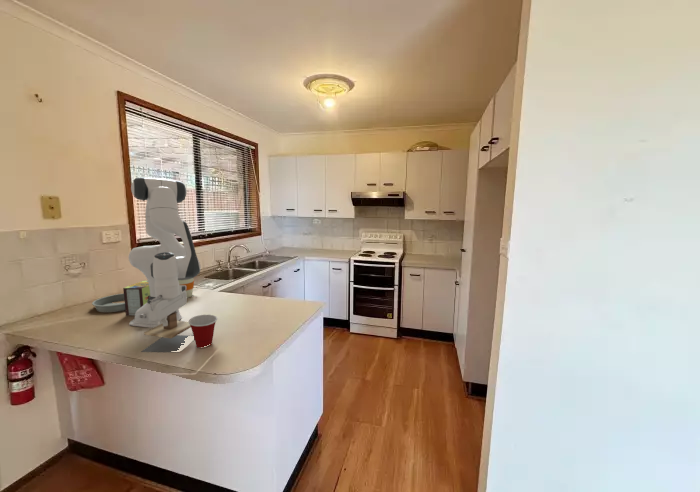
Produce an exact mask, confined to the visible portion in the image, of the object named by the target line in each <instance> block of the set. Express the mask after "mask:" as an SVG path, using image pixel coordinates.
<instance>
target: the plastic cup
mask: <svg viewBox="0 0 700 492" xmlns="http://www.w3.org/2000/svg"><path fill="white" fill-rule="evenodd" d="M217 321H218V317H217V316H215V315H213V314H199V315H195V316H192V317H191V318H190V319H189V320H188V322H189V324H190V326H191V328H190V329H191V331H192V336H194V343H195V346H196V347H197V348H198V347H204V346H207V345H209V344H211V343H212V344H213V338H214V333H215V326H216V322H217ZM212 344H211V345H212Z"/></svg>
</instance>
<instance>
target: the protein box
mask: <svg viewBox="0 0 700 492" xmlns="http://www.w3.org/2000/svg"><path fill="white" fill-rule="evenodd" d="M122 290H123V293H124V303H125V310H124V311H125V316H129V317H130V316H131V317H133V316H134V317H135V313H136V311H137V310H138V309H139V308H141V307H142V306H143V305H144V304H146V303H147V301H148V299H146V297H148V296H149V295H150V289H149V283H148V280H142V281H139V282H136V283H134V284H131V285H127V286H125V287H123V289H122ZM145 299H146V300H145Z"/></svg>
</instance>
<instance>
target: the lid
mask: <svg viewBox="0 0 700 492" xmlns="http://www.w3.org/2000/svg"><path fill="white" fill-rule="evenodd" d="M167 321H169V325H168V326H163V323H162V324H160V325H158V326H156V327H154V328H152V327H151V328H150V329H148V330H146V331H144V335H145V336H151V337H159V338H161V337H164V338H173V337H175V336H177V335H180V334H182V333H183V332H186V331H187V330H189V329H191V326H190V324H189V321H184V320H183V321H182V320H179V321H177V316H176V313H171V314H170V315H168V316H167Z"/></svg>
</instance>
